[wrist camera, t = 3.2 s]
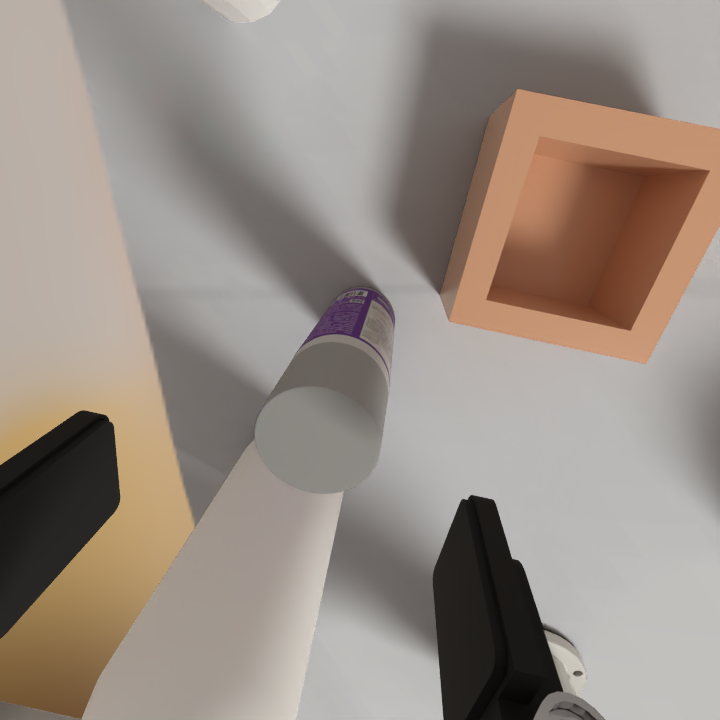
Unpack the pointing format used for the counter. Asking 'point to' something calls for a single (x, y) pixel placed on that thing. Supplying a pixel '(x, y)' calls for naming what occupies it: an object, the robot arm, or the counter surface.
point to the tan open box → (583, 224)
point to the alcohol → (229, 610)
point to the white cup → (242, 9)
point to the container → (332, 398)
